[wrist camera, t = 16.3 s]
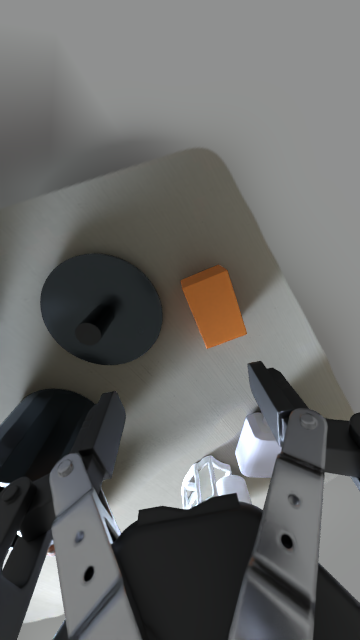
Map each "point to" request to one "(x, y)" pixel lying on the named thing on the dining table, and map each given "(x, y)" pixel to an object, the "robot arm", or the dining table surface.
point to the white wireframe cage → (213, 483)
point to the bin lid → (101, 309)
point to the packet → (214, 305)
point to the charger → (257, 448)
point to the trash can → (40, 434)
